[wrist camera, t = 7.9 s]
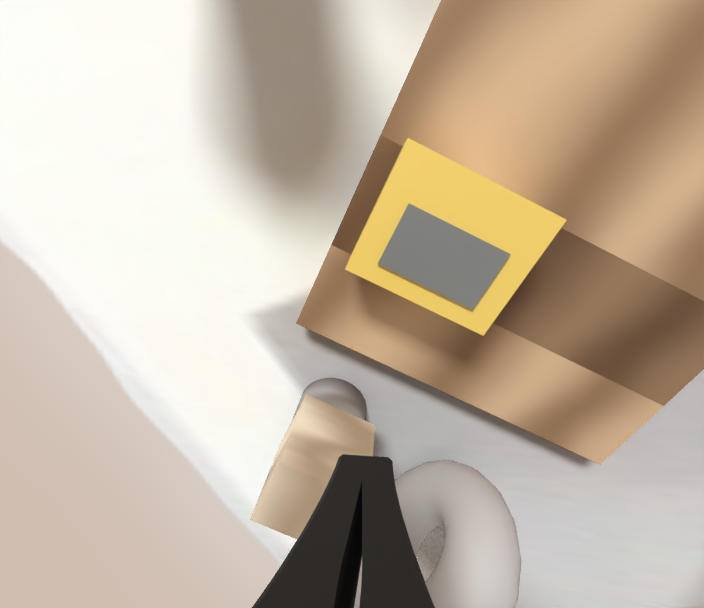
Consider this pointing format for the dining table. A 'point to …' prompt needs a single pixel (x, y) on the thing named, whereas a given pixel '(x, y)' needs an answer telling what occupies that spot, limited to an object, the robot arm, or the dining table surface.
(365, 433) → the wooden block with base
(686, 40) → the board
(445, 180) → the stud finder
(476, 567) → the donut
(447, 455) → the dining table surface
